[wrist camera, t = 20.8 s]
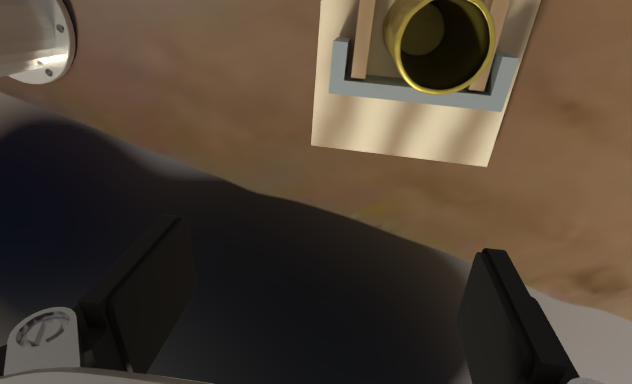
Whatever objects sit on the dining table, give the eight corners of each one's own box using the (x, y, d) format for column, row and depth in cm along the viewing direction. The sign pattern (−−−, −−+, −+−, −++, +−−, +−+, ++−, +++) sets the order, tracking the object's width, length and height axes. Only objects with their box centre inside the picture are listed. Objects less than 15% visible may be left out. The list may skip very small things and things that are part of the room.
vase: (432, -28, 30) (472, -51, 17) (467, 37, 31) (526, 60, 19) (369, 20, 32) (363, 32, 19) (405, 79, 34) (421, 124, 21)
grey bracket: (333, 84, 35) (328, 93, 31) (337, 36, 33) (333, 41, 29) (488, 100, 33) (501, 112, 30) (503, 52, 31) (519, 58, 28)
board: (314, 137, 40) (304, 159, 35) (331, -85, 31) (320, -105, 25) (480, 157, 39) (498, 184, 33) (552, -72, 29) (594, -90, 23)
